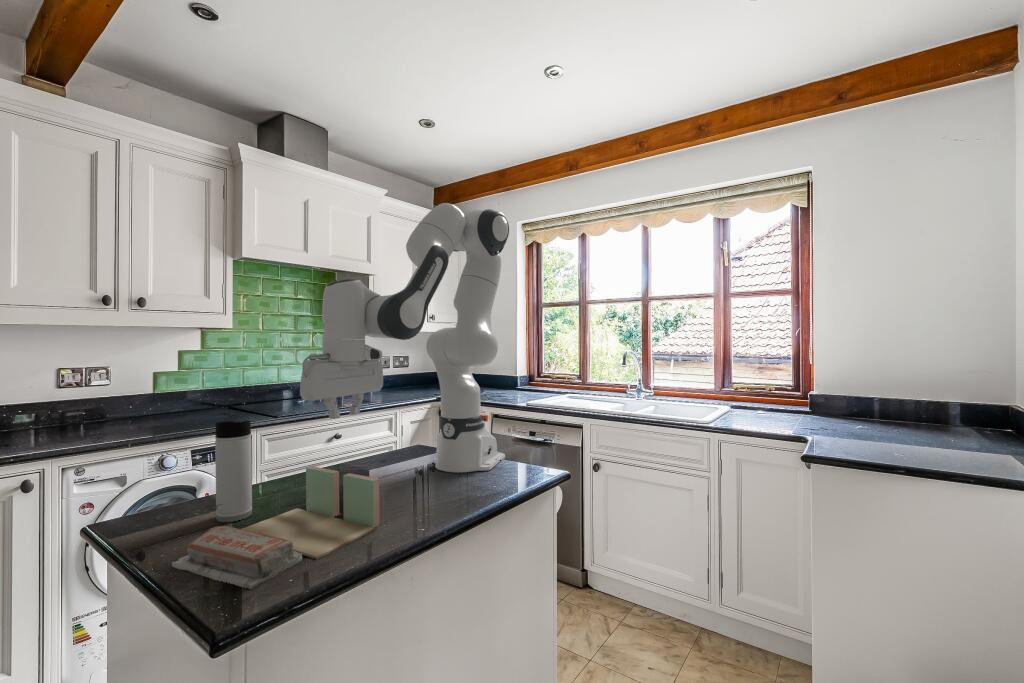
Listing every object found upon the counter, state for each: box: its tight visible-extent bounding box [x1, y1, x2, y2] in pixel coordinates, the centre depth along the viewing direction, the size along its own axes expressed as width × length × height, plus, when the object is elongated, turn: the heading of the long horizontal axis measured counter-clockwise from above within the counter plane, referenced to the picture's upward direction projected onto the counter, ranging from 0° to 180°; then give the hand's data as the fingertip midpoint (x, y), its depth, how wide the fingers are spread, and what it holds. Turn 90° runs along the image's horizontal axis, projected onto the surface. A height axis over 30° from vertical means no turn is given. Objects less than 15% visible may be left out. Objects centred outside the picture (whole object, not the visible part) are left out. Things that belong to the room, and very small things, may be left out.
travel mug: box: [214, 420, 253, 523], centre depth 94 cm, size 6×7×20 cm
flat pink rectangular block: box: [305, 466, 340, 518], centre depth 96 cm, size 2×8×9 cm, turn 62°
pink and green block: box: [342, 472, 380, 528], centre depth 91 cm, size 2×8×9 cm, turn 62°
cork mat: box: [241, 507, 376, 560], centre depth 87 cm, size 13×22×1 cm, turn 62°
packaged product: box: [171, 525, 303, 589], centre depth 75 cm, size 18×5×10 cm
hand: (344, 416), depth 102 cm, fingers open, 4 cm apart
